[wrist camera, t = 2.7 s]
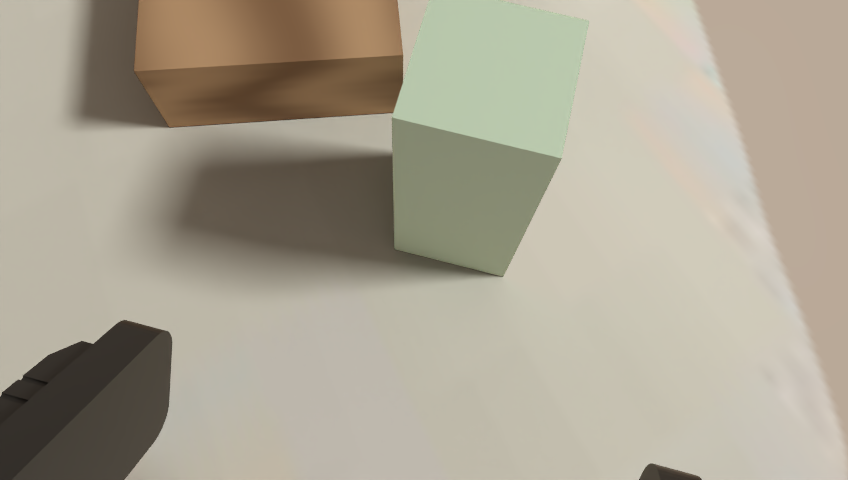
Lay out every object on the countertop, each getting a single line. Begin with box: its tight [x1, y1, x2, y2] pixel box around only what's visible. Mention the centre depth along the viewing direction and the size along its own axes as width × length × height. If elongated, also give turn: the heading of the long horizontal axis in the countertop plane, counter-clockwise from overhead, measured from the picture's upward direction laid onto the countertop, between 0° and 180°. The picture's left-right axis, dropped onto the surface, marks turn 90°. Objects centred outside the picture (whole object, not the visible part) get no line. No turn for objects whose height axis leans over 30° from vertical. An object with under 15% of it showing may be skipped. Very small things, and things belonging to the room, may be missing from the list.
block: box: [392, 0, 589, 277], centre depth 22 cm, size 4×4×10 cm
